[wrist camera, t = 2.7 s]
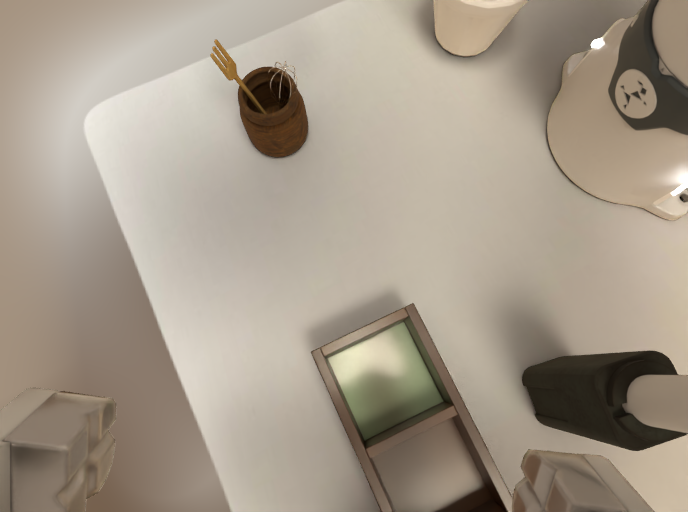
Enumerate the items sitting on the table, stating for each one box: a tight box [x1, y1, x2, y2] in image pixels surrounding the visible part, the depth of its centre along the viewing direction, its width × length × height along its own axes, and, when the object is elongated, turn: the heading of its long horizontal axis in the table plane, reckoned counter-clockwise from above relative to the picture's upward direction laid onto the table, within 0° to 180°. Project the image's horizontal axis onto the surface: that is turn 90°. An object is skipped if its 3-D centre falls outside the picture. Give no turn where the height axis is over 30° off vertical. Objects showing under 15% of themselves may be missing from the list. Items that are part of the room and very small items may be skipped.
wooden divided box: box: [311, 303, 512, 512], centre depth 38 cm, size 9×17×5 cm, turn 25°
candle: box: [522, 351, 688, 451], centre depth 29 cm, size 5×5×25 cm
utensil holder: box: [211, 40, 308, 157], centre depth 41 cm, size 6×6×12 cm
